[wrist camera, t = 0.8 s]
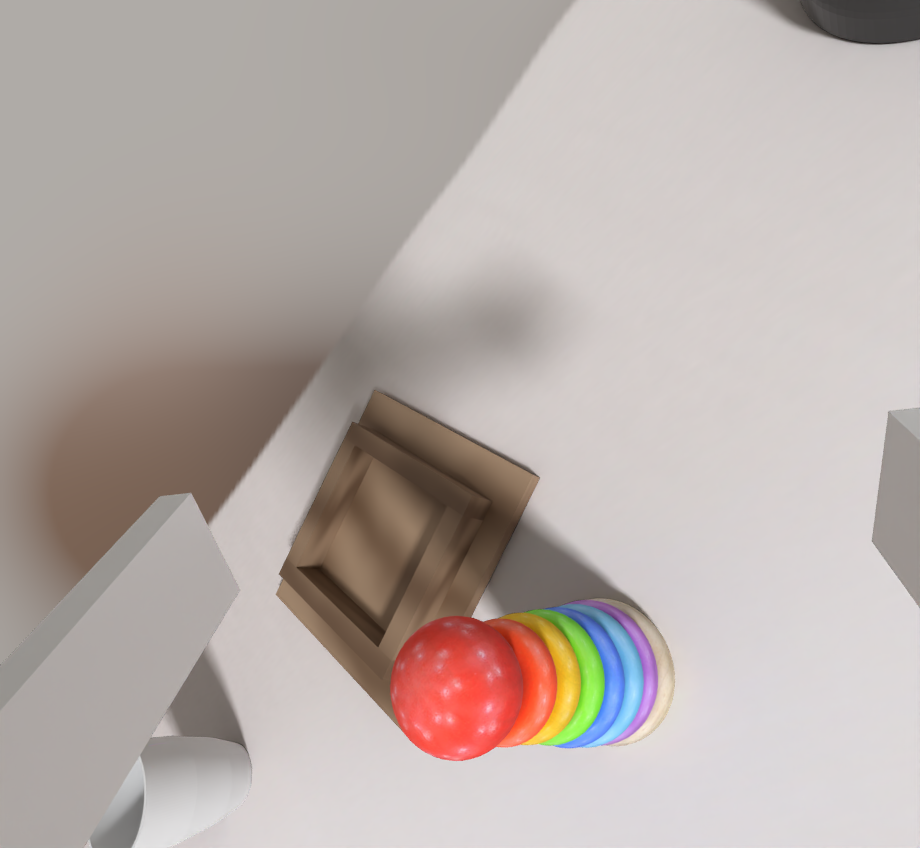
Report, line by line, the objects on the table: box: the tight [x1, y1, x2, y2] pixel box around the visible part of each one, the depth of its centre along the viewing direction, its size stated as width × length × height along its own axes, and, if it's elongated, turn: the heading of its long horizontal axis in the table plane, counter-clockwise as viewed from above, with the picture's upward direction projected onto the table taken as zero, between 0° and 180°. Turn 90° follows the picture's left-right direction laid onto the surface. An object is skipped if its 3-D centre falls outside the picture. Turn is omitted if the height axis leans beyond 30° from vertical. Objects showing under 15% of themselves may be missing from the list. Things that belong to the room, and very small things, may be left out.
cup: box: [88, 736, 252, 848], centre depth 48 cm, size 8×8×10 cm
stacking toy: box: [390, 598, 675, 761], centre depth 28 cm, size 8×8×19 cm
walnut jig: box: [276, 390, 540, 734], centre depth 46 cm, size 20×18×4 cm
